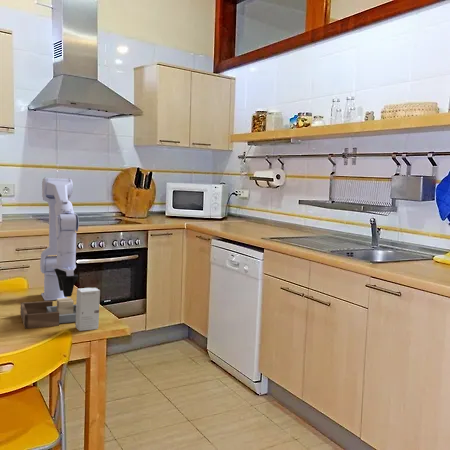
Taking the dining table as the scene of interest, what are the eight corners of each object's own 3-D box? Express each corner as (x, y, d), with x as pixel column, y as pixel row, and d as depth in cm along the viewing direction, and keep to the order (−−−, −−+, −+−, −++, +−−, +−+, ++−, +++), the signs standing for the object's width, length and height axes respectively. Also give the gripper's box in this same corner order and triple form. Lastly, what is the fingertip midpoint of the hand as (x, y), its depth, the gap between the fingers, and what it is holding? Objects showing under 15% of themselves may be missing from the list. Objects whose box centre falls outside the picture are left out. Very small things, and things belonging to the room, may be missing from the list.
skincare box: (79, 331, 145) (80, 292, 143) (74, 327, 148) (75, 288, 147) (99, 328, 148) (100, 290, 147) (94, 324, 152) (95, 286, 150)
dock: (20, 314, 157) (20, 302, 156) (51, 312, 161) (52, 300, 161) (25, 328, 144) (25, 315, 144) (58, 325, 149) (59, 312, 149)
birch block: (56, 313, 157) (56, 298, 157) (70, 312, 159) (70, 297, 159) (58, 317, 154) (59, 302, 153) (73, 316, 156) (73, 301, 155)
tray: (45, 312, 160) (46, 299, 159) (88, 309, 167) (89, 296, 166) (51, 325, 149) (52, 311, 148) (97, 320, 155) (98, 307, 155)
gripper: (49, 248, 159) (49, 288, 160) (57, 256, 146) (56, 300, 148) (72, 247, 162) (71, 287, 164) (80, 255, 149) (79, 298, 151)
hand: (65, 293), depth 156 cm, fingers open, 7 cm apart
